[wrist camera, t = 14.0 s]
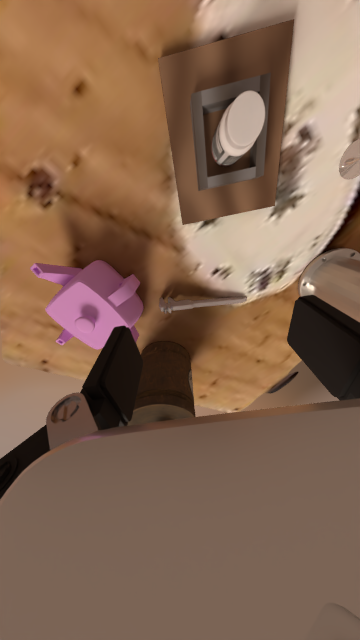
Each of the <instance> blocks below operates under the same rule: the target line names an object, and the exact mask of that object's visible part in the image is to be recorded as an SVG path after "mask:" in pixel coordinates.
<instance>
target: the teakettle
mask: <svg viewBox="0 0 360 640" xmlns="http://www.w3.org/2000/svg"><path fill="white" fill-rule="evenodd" d="M30 269H31V270H32V271H33V272H34V273H35V275H36V276H37V277H38V278H43V279H46V280H49V281H52V282H55V283H58V284H61V285H63V286H64V287H63V288H62V289H61V290H60V291H59V292H58V293H57V294H56V295H55V296H54V297H53V299H52V300H51V301H50V303H49V304H48V306H47V307H46V312H47V313H48V314H49V315H50V316H51V317H52V318H53V319H54V320H55V321H56V322H57V323H59V324H60V325H61V326H62V327H63V328H64V330H63V331H62V333H61V334H60V336H59V337H58V339H57V340H56V342H57V343H59V344H60V345H63V344H64V343H66V342H67V341H68V340H69V339H71V338H72V337H74V336H75V337H77V338H78V339H79V340H81V341H82V342H84V343H85V344H87V345H89V346H90V347H92V348H94V349H100V348H102V347H104V345H105V343H106V341H107V340H108V338H109V336H110V334H111V332H112V330H113V328H114V327H118V326H126V328H127V327H128V328H129V329H130V331H131V333H132V336H133V338H134V340H135V343H136V341H137V338H138V336H139V334H138V332H137V330H136V328H135V326H134V324H135V323H136V322H137V320H138V319H139V317H140V316H141V314H142V312H143V308H144V307H143V303H142V301H141V299H140V297H139V296H138V295H137V293H136V292H135V291H136V289H137V288H138V286H139V285H140V282H139V280H138V279H137V278H136V277H135V276H134V274H132V275H130V276H129V277H127V278H125V279H124V278H123V277H122V276H121V275H120V274H119V273H118V272H117V271H116V270H115V269H114V268H113V267H111V266H110V265H109V264H108V263H106V262H105V261H102V260H96V261H94V262H92V263H91V264H89V265H88V266H87V267H85V268H84V269H83V270H82V269H81V268H73V267H65V266H57V265H48V264H40V263H35V264H34V265H33V266H32V267H31V268H30Z"/></svg>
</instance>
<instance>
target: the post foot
mask: <svg viewBox="0 0 360 640" xmlns="http://www.w3.org/2000/svg"><path fill="white" fill-rule="evenodd" d="M293 26H294V19H293V20H290V21H286V22H283V23H279V24H276V25H272V26H269V27H265V28H262V29H258V30H255V31H251V32H248V33H245V34H241V35H238V36H234V37H231V38H227V39H224V40H220V41H217V42H213V43H210V44H206V45H203V46H199V47H196V48H192V49H189V50H186V51H182V52H179V53H175V54H172V55H168V56H165V57H161V58H158V61H159V69H160V76H161V83H162V89H163V96H164V103H165V109H166V116H167V123H168V130H169V136H170V143H171V150H172V156H173V163H174V170H175V177H176V183H177V190H178V197H179V203H180V210H181V217H182V224H183V225H184V224H189V223H194V222H199V221H204V220H209V219H213V218H218V217H223V216H228V215H233V214H238V213H242V212H247V211H252V210H257V209H262V208H267V207H271V206H275V198H276V189H277V179H278V169H279V160H280V150H281V141H282V131H283V122H284V112H285V102H286V93H287V83H288V74H289V64H290V55H291V45H292V35H293ZM245 91H255V92H257V93H258V94H259V95H260V96H261V98H262V99H263V102H264V106H265V120H264V124H263V127H262V130H261V132H260V134H259V135H258V137H257V139H256V141H255V142H254V144H253V146H252V147H251V148H250V149H249V150H248V151H247V152H246V153H245V154H244V155H243V156H242V157H241V158H239V159H238V160H237V161H236V162H235V163H233V164H232V165H230V166H221V165H219V164H218V163H217V162H216V161H215V160H214V158H213V155H212V150H211V144H212V139H213V136H214V133H215V131H216V129H217V127H218V125H219V123H220V120H221V118H222V116H223V114H224V112H225V111H226V109H227V108H228V106H229V105H230V104H231V103H232V102H234V100H235V99H236V98H237V97H238V96H239V95H240V94H241V93H243V92H245Z"/></svg>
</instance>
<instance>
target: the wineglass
mask: <svg viewBox="0 0 360 640" xmlns="http://www.w3.org/2000/svg"><path fill="white" fill-rule="evenodd" d="M339 172H340V174H341V176H342V177H343V178H344V179H353V178H355V177H357V176H358V175H360V139H358V140H356V141H354V142H353V143H352V144H351V145H350V146H349V147H348V148H347V150H346V151H345V152H344V154H343V156H342V158H341V162H340V165H339Z"/></svg>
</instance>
